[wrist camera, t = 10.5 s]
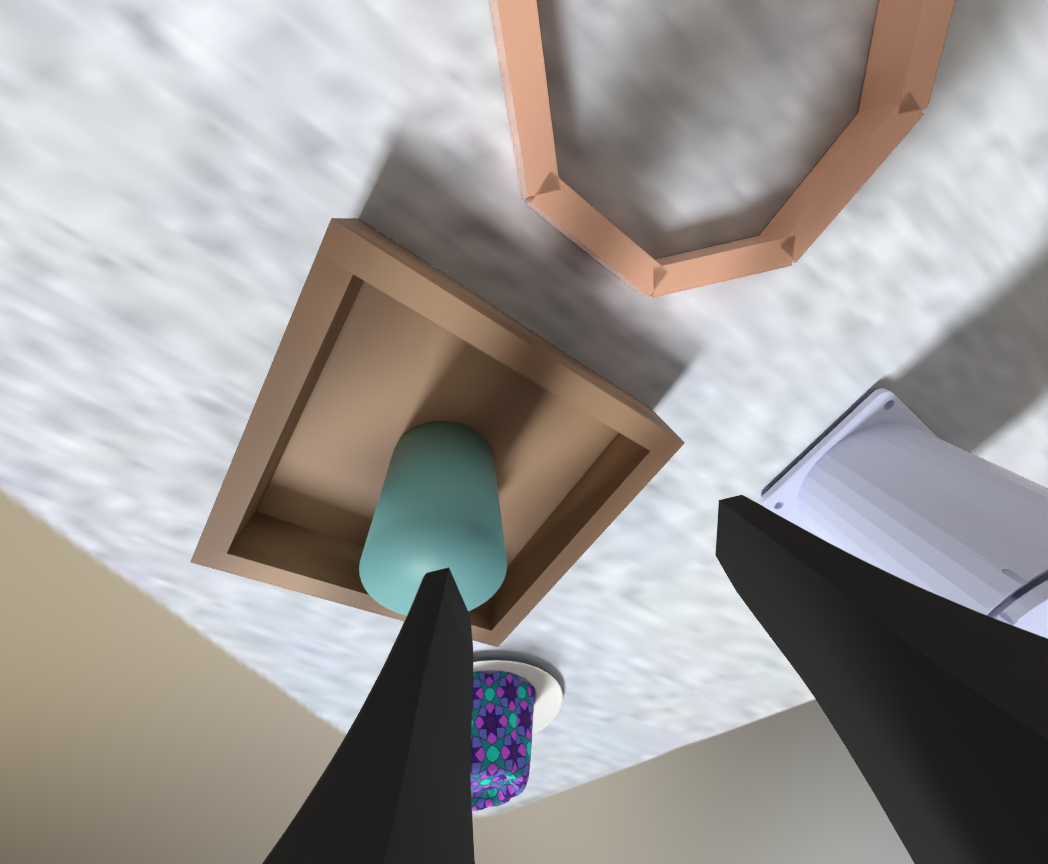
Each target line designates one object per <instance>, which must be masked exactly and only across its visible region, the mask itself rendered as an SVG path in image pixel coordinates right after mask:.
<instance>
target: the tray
mask: <svg viewBox="0 0 1048 864" xmlns="http://www.w3.org/2000/svg"><path fill="white" fill-rule="evenodd" d="M433 421H452V422H457V423H461V424H464V425H466V426H468V427H470V428H472V429H474V430H475V431H477V432H478V433H479V434H480V435H481V436H482V437H483V438H484V439H485V440H486V441H487V443H488V444H489V446H490V448H491V450H492V453H493V457H494V463H495V471H496V479H497V487H498V495H499V502H500V510H501V518H502V526H503V533H504V541H505V549H506V557H507V571H506V575H505V578H504V581H503V583H502V584H501V586H500V588H499V589H498V590H497V592H496V593H495V594H494V595H493V596H492V597H491V598H490V599H488V600H487V601H486V602H484V603H483V604H481V605H480V606H478V607H476V608H474V609H472V610H470V611H468V612H469V614H470V617H471V629H472V640H474V641H478V642H481V643H485V644H488V645H492V646H496V647H498V646H499V645H500V644H501V643H502V642H503V641H504V640H505V639H506V638H507V637H508V635H509V634H510V633H511V632H512V631H513V630H514V629H515V628H516V627H517V626H518V625H519V623H520V622H521V621H522V620H523V619H524V618H525V617H526V616H527V615H528V614H529V612H530V611H531V610H532V609H533V608H534V607H535V606H536V605H537V604H538V603H539V602H540V600H541V599H542V598H543V597H544V596H545V595H546V594H547V593H548V592H549V591H550V590H551V588H552V587H553V586H554V585H555V584H556V583H557V582H558V581H559V580H560V579H561V578H562V576H563V575H564V574H565V573H566V572H567V571H568V570H569V569H570V568H571V567H572V566H573V564H574V563H575V562H576V561H577V560H578V559H579V558H580V557H581V556H582V555H583V554H584V552H585V551H586V550H587V549H588V548H589V547H590V546H591V545H592V544H593V543H594V541H595V540H596V539H597V538H598V537H599V536H600V535H601V534H602V533H603V532H604V531H605V529H606V528H607V527H608V526H609V525H610V524H611V523H612V522H613V521H614V520H615V519H616V517H617V516H618V515H619V514H620V513H621V512H622V511H623V510H624V509H625V508H626V507H627V505H628V504H629V503H630V502H631V501H632V500H633V499H634V498H635V497H636V496H637V495H638V493H639V492H640V491H641V490H642V489H643V488H644V487H645V486H646V485H647V484H648V483H649V481H650V480H651V479H652V478H653V477H654V476H655V475H656V474H657V473H658V472H659V470H660V469H661V468H662V467H663V466H664V465H665V464H666V463H667V462H668V461H669V460H670V458H671V457H672V456H673V455H674V454H675V453H676V452H677V451H678V450H679V449H680V448H681V446H682V445H683V444H684V442H683V441H682V440H681V439H680V438H679V437H678V435H677V434H676V433H675V432H674V431H673V430H672V429H671V428H670V427H669V426H668V425H667V424H666V423H665V422H664V421H663V420H662V419H661V418H660V417H659V416H658V415H657V414H656V413H655V412H654V411H653V410H651V409H650V408H648V407H647V406H645V405H644V404H642V403H640V402H639V401H637V400H636V399H634V398H633V397H631V396H630V395H628V394H627V393H625V392H624V391H622V390H621V389H619V388H617V387H616V386H614V385H613V384H611V383H610V382H608V381H607V380H605V379H604V378H602V377H601V376H599V375H597V374H596V373H594V372H593V371H591V370H590V369H588V368H587V367H585V366H584V365H582V364H581V363H579V362H578V361H576V360H574V359H573V358H571V357H570V356H568V355H567V354H565V353H564V352H562V351H561V350H559V349H558V348H556V347H555V346H553V345H551V344H550V343H548V342H547V341H545V340H544V339H542V338H541V337H539V336H538V335H536V334H535V333H533V332H531V331H530V330H528V329H527V328H525V327H524V326H522V325H521V324H519V323H518V322H516V321H515V320H513V319H512V318H510V317H508V316H507V315H505V314H504V313H502V312H501V311H499V310H498V309H496V308H495V307H493V306H492V305H490V304H489V303H487V302H485V301H484V300H482V299H481V298H479V297H478V296H476V295H475V294H473V293H472V292H470V291H469V290H467V289H465V288H464V287H462V286H461V285H459V284H458V283H456V282H455V281H453V280H452V279H450V278H449V277H447V276H446V275H444V274H442V273H441V272H439V271H438V270H436V269H435V268H433V267H432V266H430V265H429V264H427V263H426V262H424V261H423V260H421V259H419V258H418V257H416V256H415V255H413V254H412V253H410V252H409V251H407V250H406V249H404V248H403V247H401V246H399V245H398V244H396V243H395V242H393V241H392V240H390V239H389V238H387V237H386V236H384V235H383V234H381V233H380V232H378V231H376V230H375V229H373V228H372V227H370V226H369V225H367V224H366V223H364V222H363V221H361V220H360V219H342V218H332V219H331V221H330V223H329V226H328V228H327V231H326V233H325V236H324V238H323V240H322V243H321V245H320V248H319V250H318V253H317V255H316V257H315V260H314V262H313V265H312V267H311V270H310V272H309V274H308V277H307V279H306V282H305V284H304V287H303V289H302V292H301V294H300V296H299V299H298V301H297V304H296V306H295V309H294V311H293V313H292V316H291V318H290V321H289V323H288V326H287V328H286V330H285V333H284V335H283V338H282V340H281V343H280V345H279V347H278V350H277V352H276V355H275V357H274V360H273V362H272V365H271V367H270V369H269V372H268V374H267V377H266V379H265V382H264V384H263V386H262V389H261V391H260V394H259V396H258V399H257V401H256V403H255V406H254V408H253V411H252V413H251V416H250V418H249V421H248V423H247V425H246V428H245V430H244V433H243V435H242V438H241V440H240V442H239V445H238V447H237V450H236V452H235V455H234V457H233V459H232V462H231V464H230V467H229V469H228V472H227V474H226V476H225V479H224V481H223V484H222V486H221V489H220V491H219V494H218V496H217V498H216V501H215V503H214V506H213V508H212V511H211V513H210V515H209V518H208V520H207V523H206V525H205V528H204V530H203V532H202V535H201V537H200V540H199V542H198V545H197V547H196V549H195V552H194V554H193V557H192V559H191V563H195V564H199V565H202V566H206V567H210V568H213V569H217V570H220V571H224V572H228V573H231V574H235V575H239V576H242V577H246V578H249V579H253V580H257V581H260V582H264V583H268V584H271V585H275V586H278V587H282V588H286V589H289V590H293V591H296V592H300V593H304V594H307V595H311V596H315V597H318V598H322V599H325V600H329V601H333V602H336V603H340V604H344V605H347V606H351V607H354V608H358V609H362V610H365V611H369V612H373V613H376V614H380V615H383V616H387V617H391V618H394V619H398V620H402V621H405V619H406V617H407V616H406V615H402V614H399V613H396V612H393V611H391V610H389V609H387V608H385V607H384V606H382V605H380V604H379V603H378V602H376V601H375V600H374V599H373V598H372V597H371V596H370V595H369V594H368V592H367V591H366V590H365V588H364V586H363V584H362V582H361V578H360V573H359V565H360V560H361V556H362V553H363V550H364V546H365V543H366V540H367V536H368V533H369V530H370V526H371V523H372V520H373V517H374V513H375V510H376V507H377V503H378V500H379V497H380V493H381V490H382V487H383V484H384V480H385V477H386V474H387V470H388V467H389V464H390V460H391V457H392V454H393V451H394V448H395V446H396V444H397V443H398V441H399V440H400V439H401V438H402V436H403V435H404V434H406V433H407V432H408V431H409V430H411V429H413V428H414V427H416V426H419V425H421V424H424V423H427V422H433Z"/></svg>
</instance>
